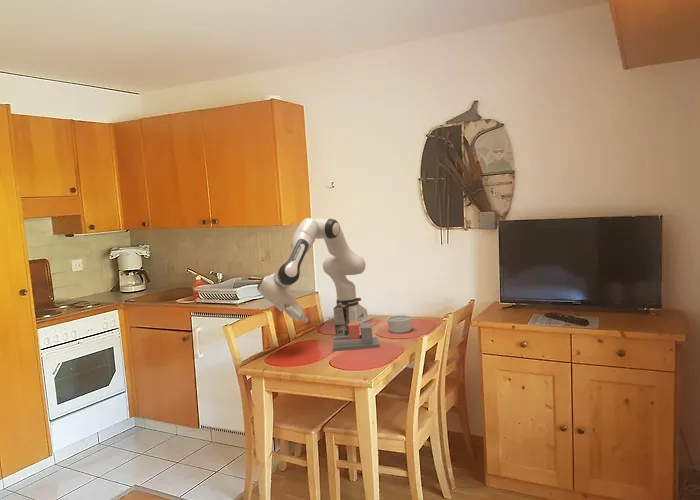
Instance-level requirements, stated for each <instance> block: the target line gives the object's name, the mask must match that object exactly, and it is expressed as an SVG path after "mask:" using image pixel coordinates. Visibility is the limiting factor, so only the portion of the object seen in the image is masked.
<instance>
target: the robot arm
mask: <svg viewBox="0 0 700 500" xmlns="http://www.w3.org/2000/svg"><path fill="white" fill-rule="evenodd" d="M316 239H318V240H319V239H321V240H324V242H325V246H326V248H327V251H328V253H329V254H330V255H331V256H328V257H326V258H324V260H323V263H322V269H323V272H324V273H325V274H327V276H329V278H330V279H331V280H332V282H333V284H334V286H335V291H336V301H335V303H336V306H337V305H348V308H349V320H350V323H355V322H358V323H359V325H360V324H361V323H367V322H368V321H370V320H373V318H372V316H370V315H369V314H368V310H367V309H366V308H365V307H364V306H362V305H361V304H360V302H361V301H362V298H361V297H357V292H356V284H354V282H353V281H351V280H349V279H348V277H347V276H356V275H360V274H363V273H364V272H365V270H366V266H367V264H366V261H365V259H364V258H363V257H362V256H361V255H358V254H357V253H355V252H354V251H353V250H352V249H351V248H350V247H349V245H348V242H347V239H346V238H345V235H344V232H343V230H342V228H341V226H340V223H339V222H338V221H337V220H336V219H335V218H326V217H315V218H312V217H306V218H304V219H303V220H302V221H300V223H299V225H298V226H297V228H296V230H295V231H294V233H293V235H292V237H291V241H290V247H291V248H292V251H291V253H290V256H289V258H288V260H287V261H286V262H284V263H283V264H282V265H281V266H280V268H279V269H278V270H277V271H276V272H274V273H272V274H269V275H266V276H263V277H262V278H261V279H260V280H259V282H258V284H257V292H258V293H259V295H261V296H262V297H263V298H264V299H265V300H267V301H268V302H270V303H272V305H273V306H274V307H275V308H277V310H278V311H280V312H281V313H284V312H285V313H286V315H288V317H289V318H291V319H292V320H294V321H295V322H298V321H299V320H300V321H303V322H304V323H305V324H307V323H308V322H309V318H308V317H307V316H306V315H305V314H304V313H303V310H304V308H303V306H302V305H301V304H300V303H298V302H297V300H295V297H293V296H292V295H291V293H290V294H289V293H288V292H287V291H286V290H288V289H290V287H291V286H293V284H295V283H297V282H298V280H299V278H300V275H301V273H300V271H301V270H300V269H301V264H302V263H303V260H304V258H305V255H306V254H307V253H308V252H309V251H310V249H311V248H312V247H313V245H314V243H315V241H316Z"/></svg>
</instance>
